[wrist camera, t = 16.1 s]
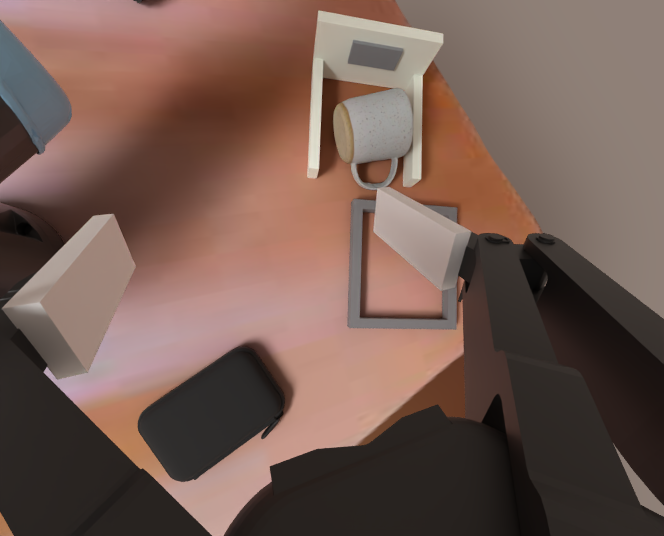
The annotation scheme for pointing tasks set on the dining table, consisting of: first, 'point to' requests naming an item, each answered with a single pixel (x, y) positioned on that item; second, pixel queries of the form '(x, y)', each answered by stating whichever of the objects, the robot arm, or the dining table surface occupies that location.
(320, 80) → the mug dock
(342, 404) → the dining table surface
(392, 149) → the ceramic mug
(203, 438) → the carrying case or bag
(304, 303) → the dining table surface
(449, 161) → the dining table surface
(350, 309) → the gray rectangular frame
